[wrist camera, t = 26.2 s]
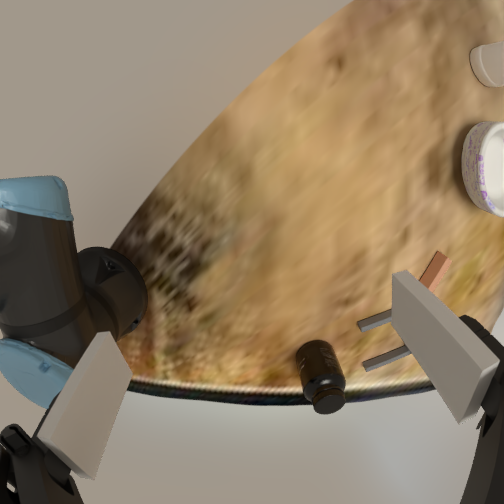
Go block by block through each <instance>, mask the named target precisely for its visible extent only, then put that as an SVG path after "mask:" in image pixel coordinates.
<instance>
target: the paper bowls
mask: <svg viewBox="0 0 504 504" xmlns="http://www.w3.org/2000/svg"><path fill="white" fill-rule="evenodd" d="M462 176H463V181H464V184H465V188H466V191H467V193H468V195H469V197H470V198H471V200H472V201H473V203H474V204H475V205H476V206H477V207H479V208H480V209H482V210H484V211H487V212H489V213H491V214H494V215H496V216H499V217H504V122H491V121H485V122H480V123H478V124H476V125H475V126H474V127H473V128H472V129H471V130H470V131H469V133H468V134H467V136H466V139H465V141H464V145H463V152H462Z"/></svg>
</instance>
